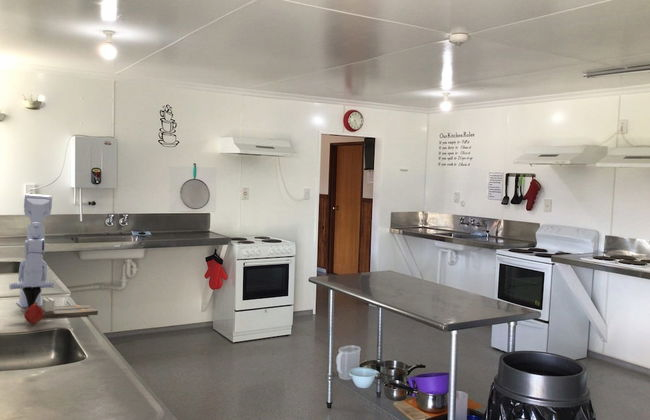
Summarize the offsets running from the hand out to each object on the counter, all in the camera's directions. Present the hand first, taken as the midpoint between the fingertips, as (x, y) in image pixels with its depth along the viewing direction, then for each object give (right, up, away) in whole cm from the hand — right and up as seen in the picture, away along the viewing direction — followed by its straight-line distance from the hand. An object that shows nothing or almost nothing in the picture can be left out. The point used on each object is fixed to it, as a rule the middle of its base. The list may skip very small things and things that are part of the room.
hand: (30, 307), depth 206 cm
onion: (+7, -4, -12) cm, 14 cm away
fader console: (+9, -4, +8) cm, 12 cm away
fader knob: (+4, -2, +4) cm, 6 cm away
